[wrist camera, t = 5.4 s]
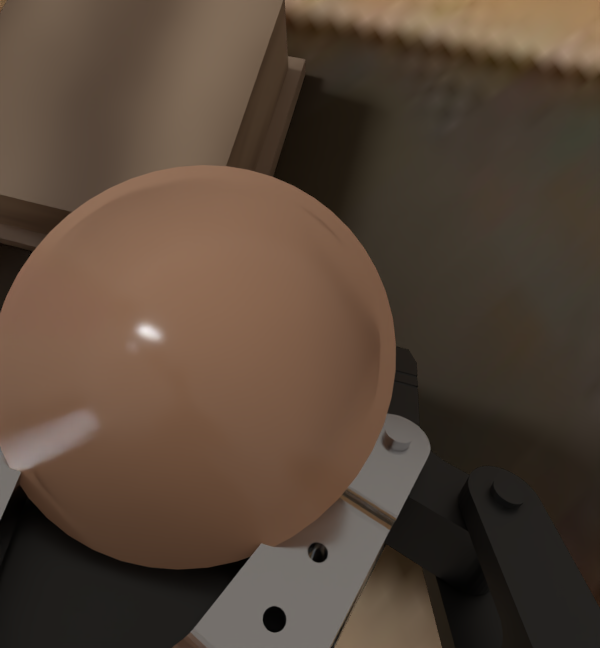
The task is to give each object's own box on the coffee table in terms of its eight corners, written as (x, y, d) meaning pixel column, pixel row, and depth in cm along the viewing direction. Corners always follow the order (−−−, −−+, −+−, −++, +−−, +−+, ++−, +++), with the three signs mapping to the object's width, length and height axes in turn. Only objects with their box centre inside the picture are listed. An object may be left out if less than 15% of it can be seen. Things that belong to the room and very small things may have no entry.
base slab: (-21, 237, 18) (-110, 185, 14) (78, 27, 21) (25, -65, 17) (233, 301, 17) (211, 264, 14) (305, 74, 20) (304, -13, 16)
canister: (178, 453, 16) (-82, 497, 5) (221, 316, 17) (79, 131, 7) (320, 494, 16) (341, 629, 5) (354, 350, 17) (432, 210, 6)
